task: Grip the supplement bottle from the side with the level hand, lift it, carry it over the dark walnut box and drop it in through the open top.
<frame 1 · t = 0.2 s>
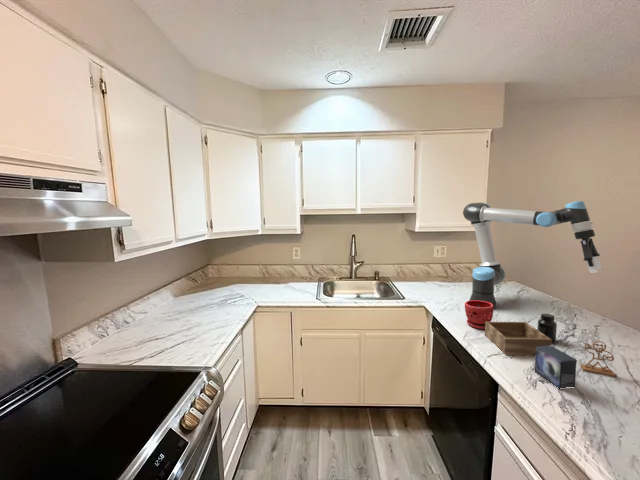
hand: (596, 270, 144), 27 cm above the table, tool tilted 15°, fingers open, 13 cm apart
walnut box: (515, 344, 128), on the table
supplement bottle: (546, 340, 131), on the table
plant pot: (478, 325, 149), on the table
gingerbread man figurine: (597, 372, 106), on the table
small box: (553, 380, 102), on the table
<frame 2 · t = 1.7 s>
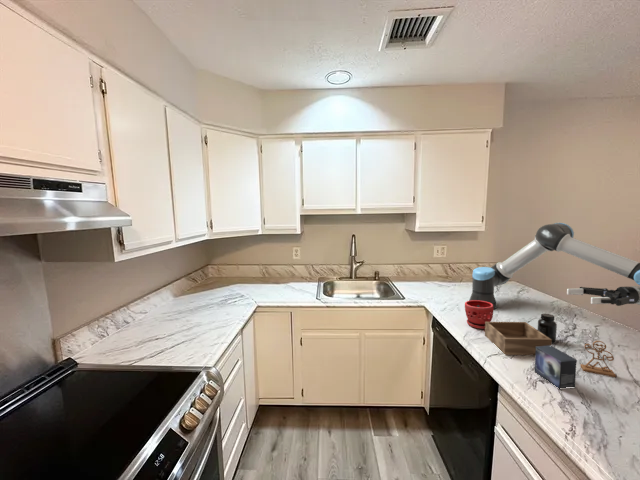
hand: (578, 295, 127), 21 cm above the table, tool horizontal, fingers open, 13 cm apart
nothing on the table moved.
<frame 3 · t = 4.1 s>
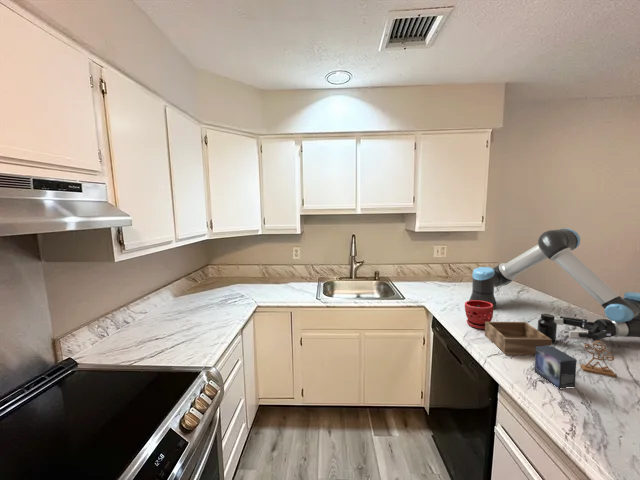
hand: (558, 327, 129), 6 cm above the table, tool horizontal, fingers open, 13 cm apart
nothing on the table moved.
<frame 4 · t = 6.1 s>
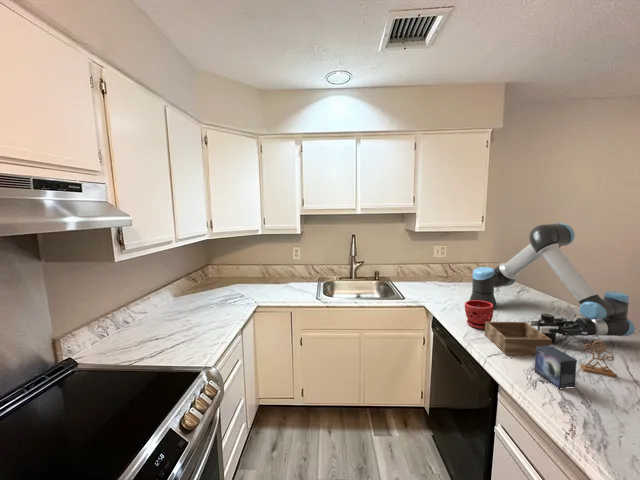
hand: (535, 326, 130), 7 cm above the table, tool horizontal, fingers closed on supplement bottle, 7 cm apart
supplement bottle: (546, 340, 131), on the table, touching gripper
everything else where it was.
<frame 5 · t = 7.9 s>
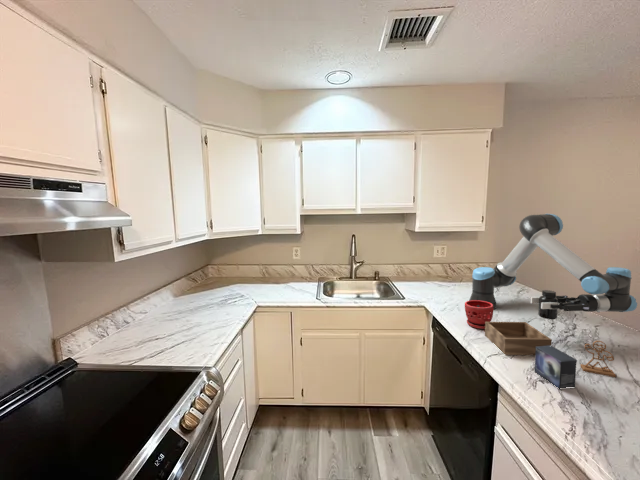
hand: (536, 302, 129), 18 cm above the table, tool horizontal, fingers closed on supplement bottle, 7 cm apart
supplement bottle: (547, 317, 129), point 11 cm above the table, touching gripper
everything else where it was.
when the fingers open (15 cm above the table, at t = 9.9 s): supplement bottle drops 7 cm, resting on walnut box.
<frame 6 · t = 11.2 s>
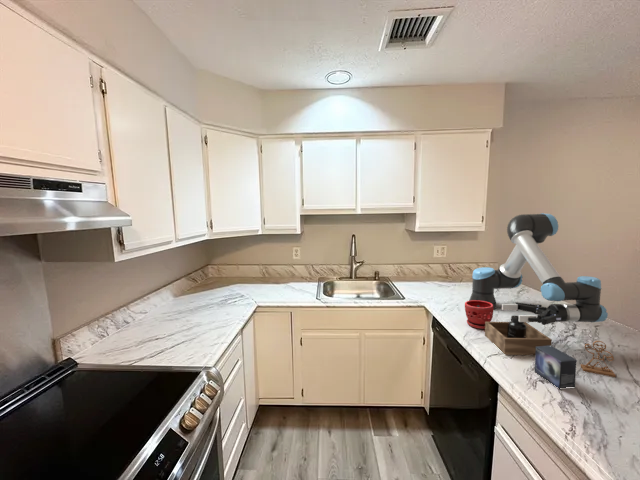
hand: (510, 312, 126), 15 cm above the table, tool horizontal, fingers open, 13 cm apart
supplement bottle: (515, 343, 127), point 1 cm above the table, touching walnut box
everything else where it was.
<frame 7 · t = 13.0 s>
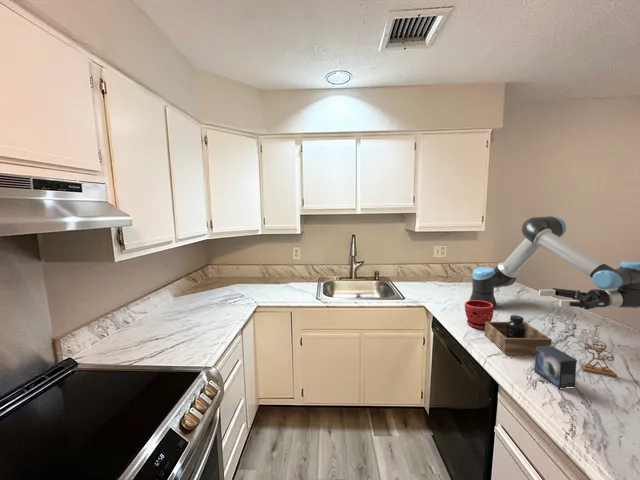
hand: (549, 297, 124), 22 cm above the table, tool horizontal, fingers open, 13 cm apart
nothing on the table moved.
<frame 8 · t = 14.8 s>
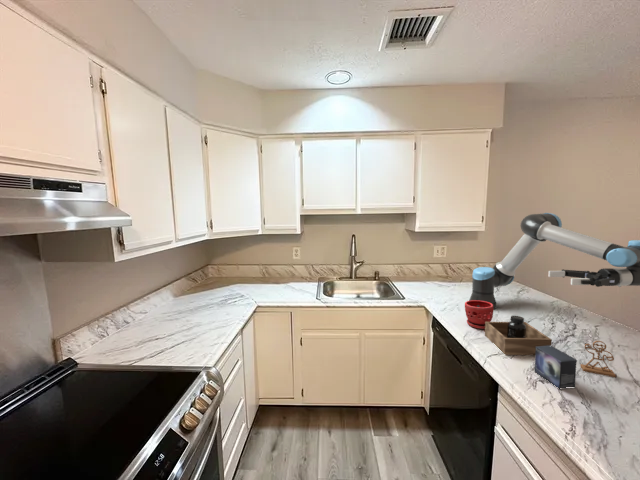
hand: (559, 277, 125), 30 cm above the table, tool horizontal, fingers open, 13 cm apart
nothing on the table moved.
at the end: supplement bottle inside the target area on the walnut box (0.4 cm from its centre), point 0.8 cm above the walnut box's base; the gripper is holding nothing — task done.
